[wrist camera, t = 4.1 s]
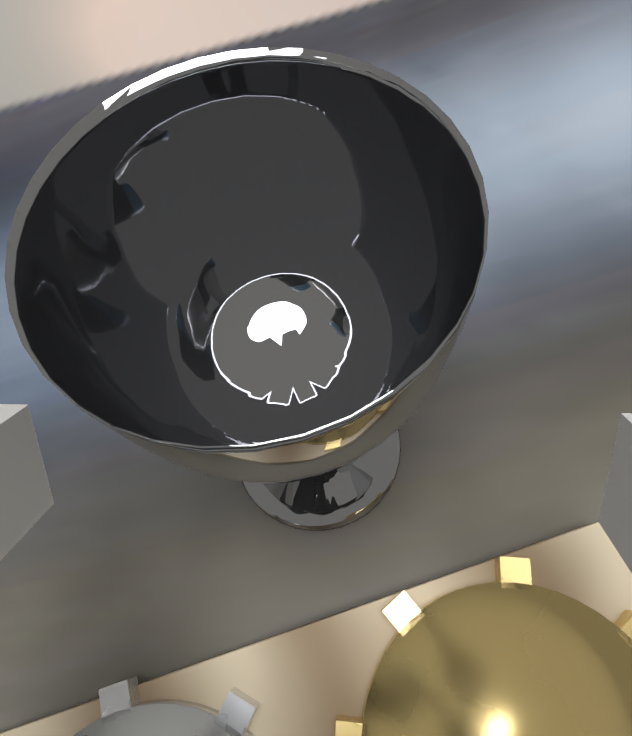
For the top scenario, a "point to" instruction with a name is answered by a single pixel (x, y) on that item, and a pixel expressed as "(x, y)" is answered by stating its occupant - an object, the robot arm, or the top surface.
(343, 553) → the top surface
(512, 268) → the top surface
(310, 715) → the gear board
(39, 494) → the robot arm
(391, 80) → the wine glass
